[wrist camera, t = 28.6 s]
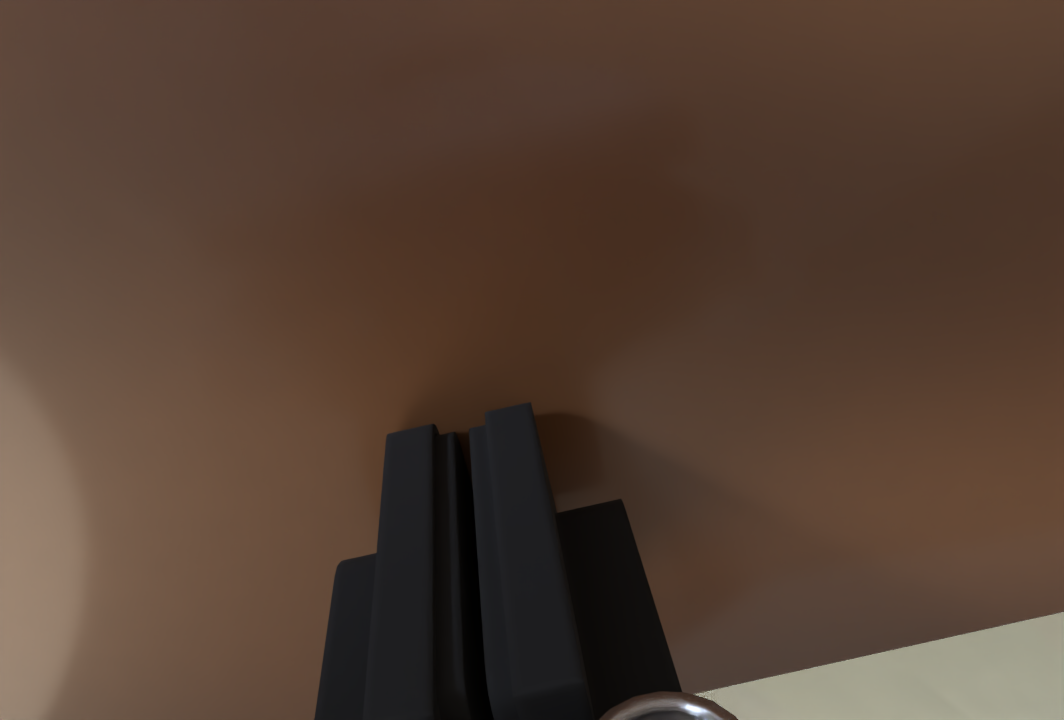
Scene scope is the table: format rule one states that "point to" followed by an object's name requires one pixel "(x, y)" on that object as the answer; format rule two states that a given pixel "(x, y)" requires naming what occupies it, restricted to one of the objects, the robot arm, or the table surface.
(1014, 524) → the box lid
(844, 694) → the table surface
